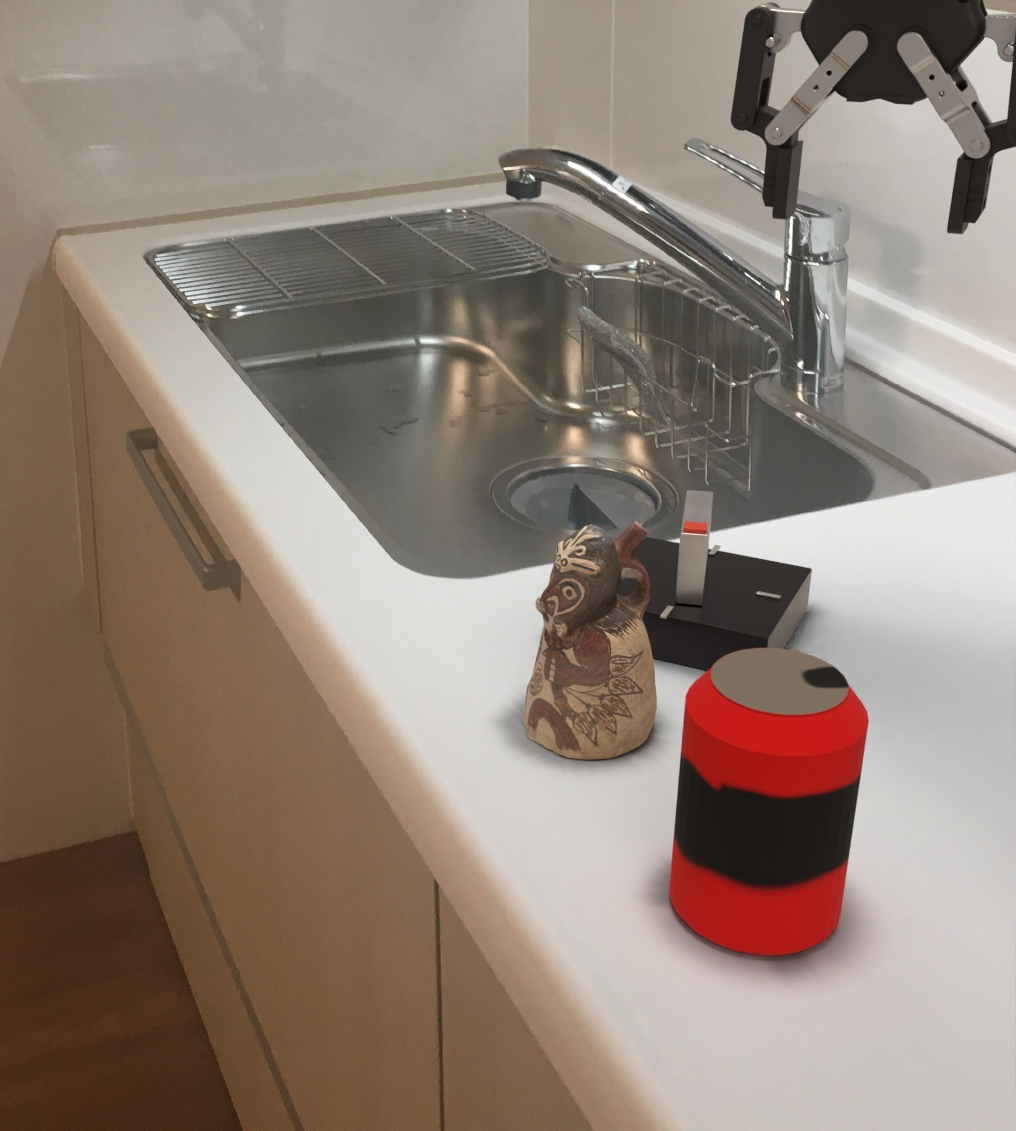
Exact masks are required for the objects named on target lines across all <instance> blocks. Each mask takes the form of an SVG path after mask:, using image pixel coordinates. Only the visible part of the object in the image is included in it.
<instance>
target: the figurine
mask: <svg viewBox="0 0 1016 1131" xmlns="http://www.w3.org/2000/svg"><path fill="white" fill-rule="evenodd" d="M649 534H650V532H649V530H646V529H645V528H644V527H642V526H641V525H640V524H639V523H638V521H633V522H632V523H631V524H630V525H629V526H628V527H627V528H626V529H624V530H623V532H622V533H621V534H619V535H618V537H616V538H615V539H613V538H612V537H611V535H610V534H609V532H607V531H606V530H605V529H603V528H601V527H600V526H598V525H595V524H586V525H584V526H583V527H581V528H579V529H578V530H575V531H574V532H573V533H572V534H571V535H569V536H568V537H566V538H565V539H563V540H561V541H559V542H558V543H557V544H556V545H555V553H554V559H553V564H552V569H551V572H550V574H549V581H548V585H547V587H545V589H544V590H543V592H542V593H541V595H540V596H538V597H536V599H535V609H536V611H537V612H538V613H540V614H541V616H542V620H543V626H542V631H541V635H540V640H539V644H538V649H537V653H536V657H535V662H534V665H533V669H532V674H531V677H530V680H529V681H528V684H527V686H526V693H525V694H526V695H525V704H524V711H523V715H522V720H521V721H522V724H523V725H524V727H525V731H526V735H527V737H528V739H530V740H531V741H533V742H536V743H537V744H539V745H540V746H542V747H544V748H545V749H547V750H550V751H552V752H554V753H555V754H557V755H560V756H563V757H565V758H569V759H576V760H604V759H605V760H607V759H611V758H616V757H619V756H622V755H624V754H626V753H630V752H631V751H634V750H635V749H637V748H640V746H642V745H643V744H644V743H645V742H646V741H647V740H648V739H649V735H650V733H651V731H652V729H653V726H654V723H655V718H656V713H657V708H658V700H657V686H656V672H655V664H654V662H655V661H654V658H653V656H652V651H651V646H650V642H649V638H648V634H647V631H646V628H645V626H644V623H643V621H642V619H643V615H644V612H645V609H646V607H647V605H648V602H649V600H650V581H649V576H648V574H647V572H646V570H645V568H644V566H643V565H642V564H641V563H640V561H639V560H638V559H637V558H636V557H635V555H634V552H635V551H636V549H637V548H638V547H639V546H640V544H641V543H642V542H643V541H644V539H645V538H646V537H649ZM626 578H631V579H634V580H635V583H636V586H635V588H634V590H633V591H632V593H631V594H630V595H629V596H626V597H622V596H620V595H618V594H616V593H617V589H618V587H619V585H620V583H621V582H622V581H623V580H625V579H626Z"/></svg>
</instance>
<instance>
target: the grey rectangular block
mask: <svg viewBox="0 0 1016 1131" xmlns="http://www.w3.org/2000/svg"><path fill="white" fill-rule="evenodd" d="M713 503H714V491H710V490H709V491H707V490H694V489H693V490H692V489H687V490H686V493H685V500H684V506H683V514H682V520H681V528H680V532H679V533H680V534H679V543H680V545H679V558H678V570H677V583H676V595H675V603H680V604H691V605H701V606H702V605H703V598H704V588H705V579H706V569H707V560H708V549H710V538H711V536H710V535H711V525H712V514H713V513H712V512H713Z"/></svg>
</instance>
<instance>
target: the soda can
mask: <svg viewBox="0 0 1016 1131" xmlns="http://www.w3.org/2000/svg"><path fill="white" fill-rule="evenodd" d="M869 723H870V719H869V713H868V710H867V709H866V706H865V704H864V703H863V701H862V700H861V699H860V698H859V696H858V695H857V693H856V692H855V691H854V689H853V688H852V687H851V685H850V684H849V682H848V680H847V678H846V676H845V675H844V674H843V673H842V672H841V671H840V670H839V669H838V668H837V667H836V666H834V665H832V663H829V662H828V661H825V660H824V659H822V658H819V657H817V656H814V655H812V654H809V653H805V652H802V651H798V650H793V649H788V648H787V649H786V648H784V649H779V648H752V649H744V650H740V651H736V652H733V653H730V654H728V655H725V656H724V657H722V658H720V659H719V660H718V661H717V662H716V663H715V664H714V665H713V667H712V668H710V669H709V670H706V672H704V673H703V674H702V675H701V676H699V677H698V678H697V679H696V680H695V681H694V682H693V683H692V684H691V685H690V686H689V687H688V689H687V692H686V693H685V700H684V709H683V722H682V734H681V747H680V756H679V768H678V769H679V770H678V779H677V780H678V781H677V782H678V783H677V793H676V806H675V815H674V816H675V817H674V829H673V841H672V852H671V862H670V863H671V864H670V875H669V889H668V890H669V893H668V894H669V898H670V901H671V905H672V906H673V908H674V910H675V911H676V913H677V914H678V916H680V918H681V919H682V920H683V921H684V922H685V923H686V924H687V925H688V926H689V927H690V928H691V929H692V930H693V931H694V932H696V933H697V934H698V935H700V936H701V937H702V938H704V939H706V940H708V941H710V942H711V943H713V944H715V945H716V946H720V947H723V948H725V949H728V950H731V951H734V952H738V953H743V954H747V955H755V956H762V957H763V956H765V957H768V956H771V957H773V956H776V957H777V956H778V957H779V956H784V955H793V954H795V953H800V952H802V951H806V950H808V949H810V948H812V947H814V946H815V945H818V944H819V943H822V942H824V941H825V940H826V939H827V938H828V937H829V936H830V935H832V934H833V933H834V931H835V929H836V928H837V926H838V924H839V922H840V918H841V913H842V907H843V902H844V893H845V887H846V880H847V874H848V866H849V859H850V852H851V846H852V839H853V832H854V824H855V819H856V810H857V805H858V797H859V792H860V783H861V777H862V770H863V762H864V756H865V750H866V742H867V737H868V736H867V735H868V730H869Z"/></svg>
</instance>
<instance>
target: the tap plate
mask: <svg viewBox="0 0 1016 1131" xmlns="http://www.w3.org/2000/svg"><path fill="white" fill-rule="evenodd" d="M679 545H680V542H676V541H671V540H665V539H659V538H655V537H649V536H647V537H646V538H645V539H644V541H643V542H642V543H641V544H640V546H639V547H638V548H637V549H636V551H635V552H634V555H635V557H636V558H637V559H638V560H639V561H640V563H641V564H642V565H643V566H644V568H645V570H646V572H647V574H648V576H649V581H650V600H649V602H648V605H647V607H646V609H645V612H644V615H643V619H642V621H643V623H644V626H645V628H646V631H647V634H648V638H649V642H650V646H651V651H652V656H653V659H656V660H660V661H665V662H670V663H673V664H678V665H682V666H686V667H691V668H694V669H700V670H704V671H708V670H709V669H710V668H712V667H713V665H714V664H715V663H716V662H717V661H718V660H719V659H720V658H722V657H724V656H725V655H728V654H730V653H733V652H736V651H740V650H744V649H752V648H779V649H786V648H785V647H786V646H787V644H788V642H789V641H790V640H791V638H792V636H793V635H794V633H795V631H796V629H797V627H798V626H799V625H800V624H801V621H802V620H803V618H804V617H805V614H806V613H807V611H808V607H809V606H808V605H809V597H810V590H811V581H812V574H813V573H812V572H813V569H812V567H806V566H802V565H796V564H792V563H785V562H780V561H774V560H770V559H766V558H765V559H764V558H759V557H756V556H755V557H754V556H750V555H744V554H739V553H733V552H728V551H723V550H721V545H719V544H715V545H714V546H713V547H712V548H709V549H708V560H707V569H706V579H705V588H704V598H703V605H702V606H701V605H691V604H680V603H675V595H676V583H677V570H678V558H679ZM635 586H636V583H635V580H634V579H631V578H626V579H625V580H623V581H622V582H621V583H620V585H619V587H618V589H617V593H616V594H618V595H620V596H622V597H626V596H629V595H630V594H631V593H632V591H633V590H634V588H635Z"/></svg>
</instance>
